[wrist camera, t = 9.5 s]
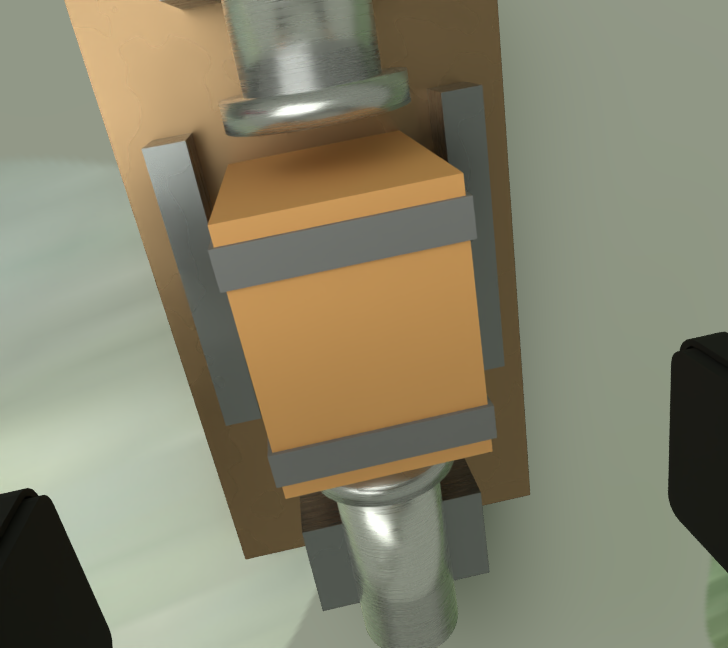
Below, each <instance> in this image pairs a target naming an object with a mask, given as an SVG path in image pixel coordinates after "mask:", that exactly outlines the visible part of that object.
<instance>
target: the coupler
mask: <svg viewBox="0 0 728 648" xmlns="http://www.w3.org/2000/svg"><path fill="white" fill-rule="evenodd" d="M208 229H209V232H210V236H211V241H210V244H209V247H208V254H209V257H210V260H211V264H212V267H213V271H214V274H215V278H216V281H217V285H218V288H219V291H220V293H222V292H227V295H228V299H229V302H230V306H231V309H232V313H233V316H234V320H235V323H236V327H237V330H238V334H239V337H240V341H241V344H242V348H243V351H244V355H245V358H246V362H247V365H248V369H249V372H250V376H251V379H252V383H253V387H254V390H255V394H256V397H257V401H258V404H259V408H260V411H261V415H262V418H263V422H264V425H265V429H266V432H267V436H268V460H269V464H270V467H271V470H272V474H273V477H274V481H275V484H276V488H280V487H282V488H283V492H284V495H285V499H288V498H292V497H297V496H301V495H305V494H310V493H314V492H318V491H323V490H327V489H331V488H336V487H340V486H344V485H349V484H353V483H358V482H362V481H366V480H371V479H375V478H379V477H384V476H388V475H392V474H397V473H401V472H405V471H410V470H414V469H418V468H423V467H427V466H432V465H436V464H440V463H445V462H449V461H453V460H458V459H462V458H466V457H471V456H475V455H479V454H484V453H488V452H493V450H492V441H491V439H494V438H497V431H496V421H495V411H494V405H493V404H492V402H491V400H490V399H489V397H488V395H487V393H486V384H485V374H484V365H483V355H482V345H481V336H480V326H479V317H478V307H477V298H476V288H475V279H474V269H473V260H472V250H471V241H470V240H474V239H477V232H476V222H475V212H474V202H473V195H471V194H470V193H469V192H467V191H466V190H465V184H464V174H463V172H461V171H460V170H458V169H457V168H455V167H454V166H452V165H451V164H449V163H448V162H446V161H445V160H443V159H442V158H440V157H439V156H437V155H436V154H434V153H433V152H431V151H430V150H428V149H427V148H425V147H424V146H422V145H421V144H419V143H418V142H416V141H415V140H413V139H412V138H410V137H409V136H407V135H406V134H404V133H403V132H401V131H400V130H398V131H393V132H388V133H383V134H378V135H373V136H368V137H363V138H358V139H353V140H348V141H343V142H338V143H333V144H328V145H323V146H318V147H313V148H308V149H303V150H298V151H293V152H288V153H283V154H278V155H273V156H268V157H263V158H258V159H253V160H248V161H243V162H238V163H233V164H228V166H227V169H226V172H225V175H224V178H223V181H222V184H221V187H220V190H219V193H218V196H217V199H216V202H215V205H214V208H213V211H212V214H211V216H210V219H209V222H208Z"/></svg>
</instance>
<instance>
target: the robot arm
mask: <svg viewBox="0 0 728 648" xmlns="http://www.w3.org/2000/svg"><path fill="white" fill-rule="evenodd" d="M669 439H670V440H669V479H668V497H669V501H670V505H671V508H672V510H673V512H674V514H675V516H676V517H677V518H678V519H679V521H680V522H681V523H682V524H683V525H684V526H685V527H686V528H687V529H688V530H689V531H690V533H691V534H692V535H693V536H694V537H695V538H696V539H697V540H698V541H699V542H700V543H701V544H702V545H703V547H704V548H706V550H707V551H708V552H709V553H710V554H711V555H712V556H713V557H714V558H715V560H716V561H717V562H718V563H719V564H720V565H721V566H722V567H723V568H724V569H725V570H726V571H727V572H728V333H727V332H719V333H715V334H711V335H706V336H701V337H697V338H692V339H688V340H686V341H684V342H683V343H682V345H681V347H680V351H678V352H676V353H674V355H673V357H672V361H671V394H670V436H669ZM0 648H113V647H112V637H111V633H110V630H109V627H108V625H107V623H106V621H105V618H104V616H103V614H102V612H101V610H100V607H99V605H98V603H97V601H96V598H95V596H94V594H93V592H92V589H91V587H90V585H89V583H88V580H87V578H86V576H85V574H84V571H83V569H82V567H81V565H80V562H79V560H78V558H77V556H76V553H75V551H74V549H73V547H72V545H71V542H70V540H69V538H68V536H67V533H66V531H65V529H64V527H63V524H62V522H61V520H60V518H59V515H58V513H57V511H56V509H55V506H54V504H53V502H52V501H51V499H50V498H49V497H48V496H46V495H41V496H38V495H37V493H36V492H35V491H34V490H33V489H29V488H26V489H21V490H17V491H12V492H8V493H4V494H0Z"/></svg>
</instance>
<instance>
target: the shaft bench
mask: <svg viewBox="0 0 728 648" xmlns="http://www.w3.org/2000/svg"><path fill="white" fill-rule="evenodd" d="M64 1H65V4H66V7H67V10H68V13H69V16H70V20H71V23H72V25H73V29H74V32H75V35H76V38H77V41H78V44H79V47H80V50H81V53H82V57H83V59H84V63H85V66H86V69H87V72H88V75H89V78H90V81H91V84H92V87H93V90H94V93H95V97H96V100H97V102H98V106H99V109H100V112H101V115H102V118H103V121H104V124H105V127H106V131H107V133H108V137H109V140H110V143H111V146H112V149H113V152H114V155H115V158H116V161H117V164H118V168H119V171H120V174H121V177H122V180H123V183H124V186H125V189H126V192H127V195H128V198H129V201H130V204H131V208H132V211H133V214H134V217H135V220H136V223H137V226H138V229H139V232H140V235H141V238H142V241H143V245H144V248H145V251H146V254H147V257H148V260H149V263H150V266H151V269H152V272H153V275H154V278H155V282H156V285H157V288H158V291H159V294H160V297H161V300H162V303H163V306H164V309H165V312H166V315H167V318H168V322H169V325H170V328H171V331H172V334H173V337H174V340H175V343H176V346H177V349H178V352H179V355H180V359H181V362H182V365H183V368H184V371H185V374H186V377H187V380H188V383H189V386H190V389H191V392H192V396H193V399H194V402H195V405H196V408H197V411H198V414H199V417H200V420H201V423H202V426H203V429H204V432H205V436H206V439H207V442H208V445H209V448H210V451H211V454H212V457H213V460H214V463H215V466H216V469H217V473H218V476H219V479H220V482H221V485H222V488H223V491H224V494H225V497H226V500H227V503H228V506H229V510H230V513H231V516H232V519H233V522H234V525H235V528H236V531H237V534H238V537H239V540H240V543H241V546H242V550H243V553H244V556H245V559H250V558H254V557H259V556H263V555H267V554H272V553H276V552H281V551H285V550H289V549H294V548H298V547H303V546H306V550H307V553H308V557H309V561H310V565H311V568H312V572H313V576H314V579H315V583H316V587H317V591H318V594H319V598H320V602H321V606H322V609H323V611H325V610H330V609H334V608H338V607H343V606H347V605H351V604H355V603H360V604H361V608H362V613H363V617H364V622H365V626H366V630H367V632H368V634H369V636H370V637H371V639H372V640H373V641H374V642H375V643H376V644H377V645H378V646H380V647H381V648H437V647H438V646H440V645H441V644H442V643H444V642H445V641H446V640H447V639H448V638H449V636H450V635H451V634H452V632H453V630H454V628H455V626H456V623H457V619H458V607H457V600H456V593H455V586H454V580H458V579H462V578H467V577H471V576H475V575H480V574H484V573H488V572H489V564H488V555H487V546H486V536H485V527H484V517H483V509H482V506H483V505H487V504H492V503H496V502H501V501H505V500H509V499H514V498H518V497H523V496H527V495H530V485H529V471H528V470H529V469H528V454H527V439H526V424H525V409H524V394H523V380H522V364H521V349H520V335H519V319H518V305H517V289H516V275H515V258H514V243H513V230H512V213H511V200H510V183H509V168H508V153H507V138H506V124H505V108H504V93H503V78H502V63H501V48H500V33H499V18H498V4H497V0H64ZM398 130H400V131H401V132H403V133H404V134H406V135H407V136H409V137H410V138H412V139H413V140H415V141H416V142H418V143H419V144H421V145H422V146H424V147H425V148H427V149H428V150H430V151H431V152H433V153H434V154H436V155H437V156H439V157H440V158H442V159H443V160H445V161H446V162H448V163H449V164H451V165H452V166H454V167H455V168H457V169H458V170H460V171H461V172H463V174H464V184H465V190H466V191H467V192H469V193H470V194H471V195H473V202H474V212H475V222H476V232H477V239H474V240H470V241H471V250H472V260H473V269H474V279H475V288H476V298H477V307H478V317H479V326H480V336H481V345H482V355H483V365H484V374H485V384H486V393H487V395H488V397H489V399H490V400H491V402H492V404H493V405H494V411H495V421H496V431H497V438H494V439H491V441H492V450H493V452H488V453H484V454H479V455H475V456H471V457H466V458H462V459H458V460H453V461H449V462H445V463H440V464H436V465H432V466H427V467H423V468H418V469H414V470H410V471H405V472H401V473H397V474H392V475H388V476H384V477H379V478H375V479H371V480H366V481H362V482H358V483H353V484H349V485H344V486H340V487H336V488H331V489H327V490H323V491H318V492H314V493H310V494H305V495H301V496H297V497H292V498H288V499H285V495H284V492H283V488H282V487H280V488H276V484H275V481H274V477H273V474H272V470H271V467H270V464H269V460H268V436H267V432H266V429H265V425H264V422H263V418H262V415H261V411H260V408H259V404H258V401H257V397H256V394H255V390H254V387H253V383H252V379H251V376H250V372H249V369H248V365H247V362H246V358H245V355H244V351H243V348H242V344H241V341H240V337H239V334H238V330H237V327H236V323H235V320H234V316H233V313H232V309H231V306H230V302H229V299H228V295H227V292H222V293H220V291H219V288H218V285H217V281H216V278H215V274H214V271H213V267H212V264H211V260H210V257H209V254H208V247H209V244H210V241H211V236H210V232H209V229H208V222H209V219H210V216H211V214H212V211H213V208H214V205H215V202H216V199H217V196H218V193H219V190H220V187H221V184H222V181H223V178H224V175H225V172H226V169H227V166H228V164H233V163H238V162H243V161H248V160H253V159H258V158H263V157H268V156H273V155H278V154H283V153H288V152H293V151H298V150H303V149H308V148H313V147H318V146H323V145H328V144H333V143H338V142H343V141H348V140H353V139H358V138H363V137H368V136H373V135H378V134H383V133H388V132H393V131H398Z"/></svg>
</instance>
